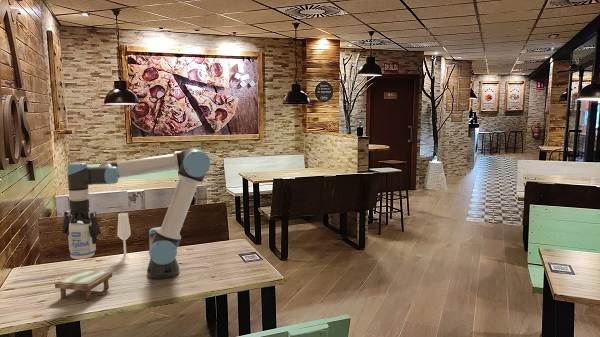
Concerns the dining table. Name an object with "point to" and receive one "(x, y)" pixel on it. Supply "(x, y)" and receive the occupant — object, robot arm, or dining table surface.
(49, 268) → the dining table surface
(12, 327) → the dining table surface
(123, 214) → the champagne flute
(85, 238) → the supplement tub
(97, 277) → the small wooden table
